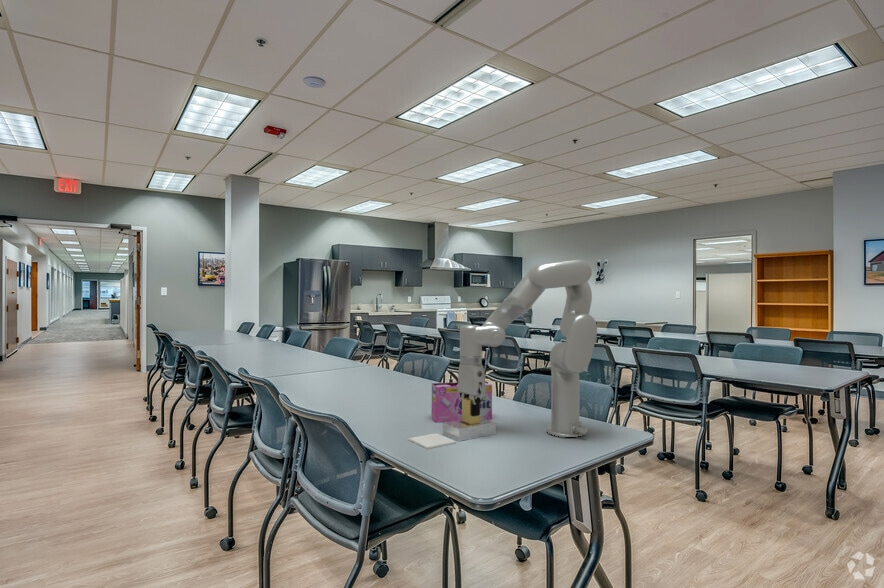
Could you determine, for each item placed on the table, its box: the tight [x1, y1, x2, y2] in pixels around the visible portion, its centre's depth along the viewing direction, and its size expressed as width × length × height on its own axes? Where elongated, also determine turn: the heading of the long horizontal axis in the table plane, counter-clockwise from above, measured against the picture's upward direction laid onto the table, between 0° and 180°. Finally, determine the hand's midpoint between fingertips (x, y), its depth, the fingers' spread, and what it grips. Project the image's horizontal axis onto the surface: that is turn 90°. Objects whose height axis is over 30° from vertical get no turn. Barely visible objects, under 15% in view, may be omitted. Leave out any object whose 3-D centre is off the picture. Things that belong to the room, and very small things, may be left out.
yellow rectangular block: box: [462, 397, 480, 425], centre depth 159 cm, size 4×4×10 cm
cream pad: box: [408, 432, 457, 450], centre depth 150 cm, size 11×11×1 cm
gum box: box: [431, 380, 493, 423], centre depth 180 cm, size 24×8×14 cm, turn 105°
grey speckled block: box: [442, 417, 497, 442], centre depth 159 cm, size 9×16×4 cm, turn 125°
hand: (471, 413), depth 159 cm, fingers closed on yellow rectangular block, 4 cm apart
